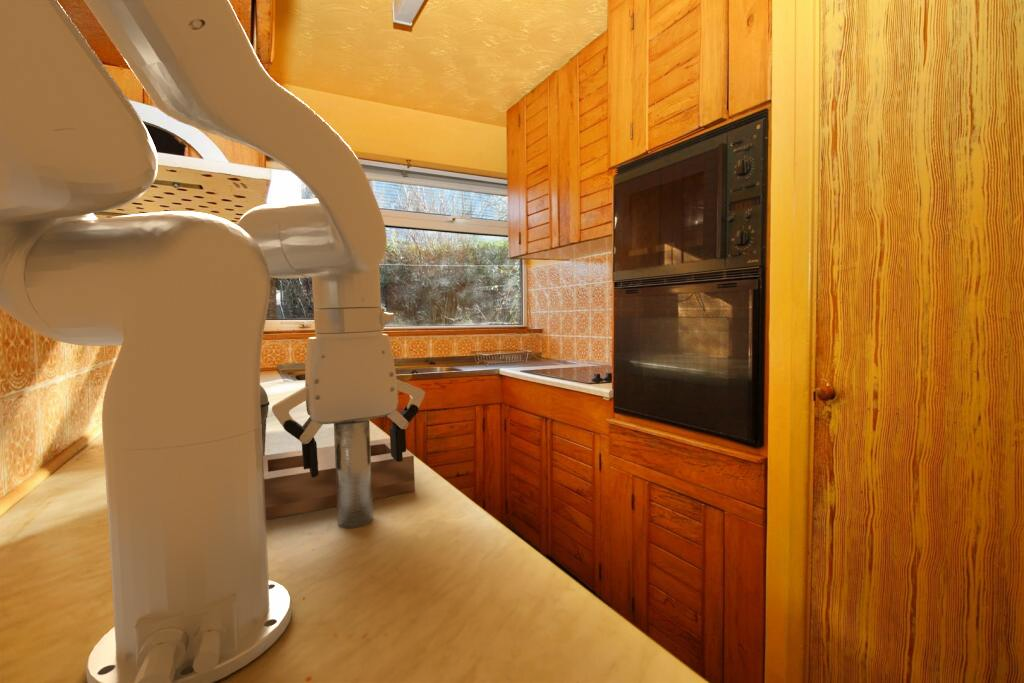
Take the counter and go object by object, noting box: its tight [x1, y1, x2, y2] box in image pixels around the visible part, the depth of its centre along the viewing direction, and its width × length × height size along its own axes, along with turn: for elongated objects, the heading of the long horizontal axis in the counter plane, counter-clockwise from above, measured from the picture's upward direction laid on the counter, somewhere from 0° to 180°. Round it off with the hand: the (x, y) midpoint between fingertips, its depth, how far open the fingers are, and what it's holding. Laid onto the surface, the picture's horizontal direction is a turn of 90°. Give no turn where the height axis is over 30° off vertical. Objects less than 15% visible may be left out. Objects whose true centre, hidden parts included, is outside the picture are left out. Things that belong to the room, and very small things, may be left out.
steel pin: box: [333, 419, 374, 529], centre depth 56 cm, size 4×4×12 cm
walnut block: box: [263, 437, 416, 521], centre depth 66 cm, size 20×12×5 cm, turn 118°
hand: (357, 466), depth 56 cm, fingers open, 9 cm apart
